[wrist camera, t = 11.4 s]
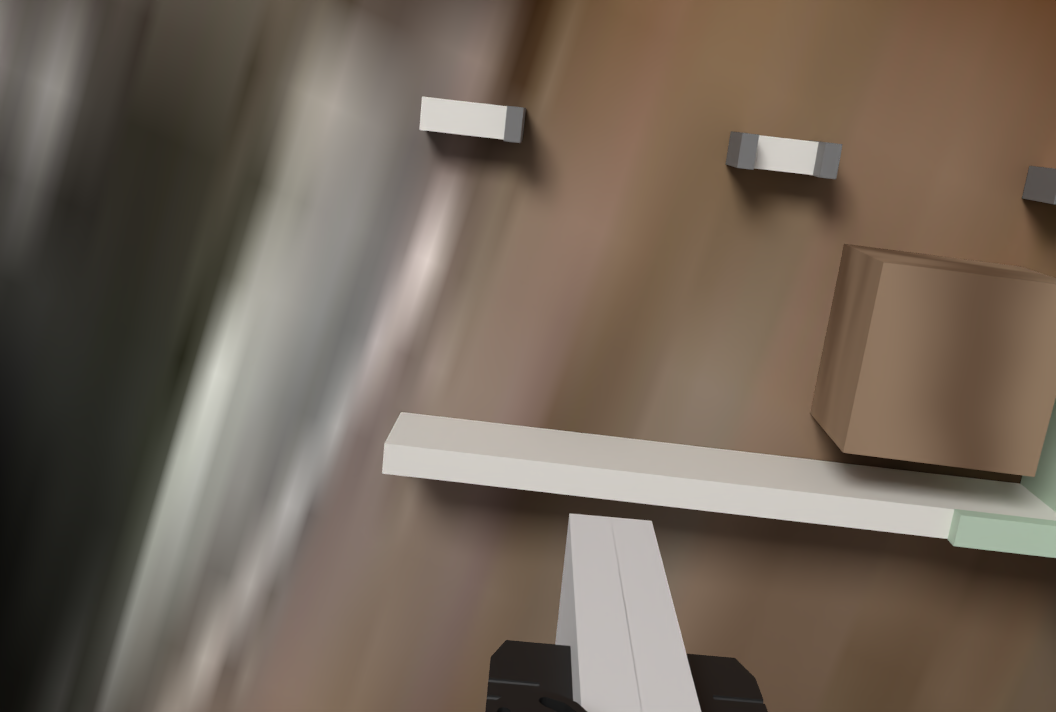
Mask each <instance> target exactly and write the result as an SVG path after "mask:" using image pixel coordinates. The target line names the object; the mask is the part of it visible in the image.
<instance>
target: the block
mask: <svg viewBox="0 0 1056 712" xmlns="http://www.w3.org/2000/svg"><path fill="white" fill-rule="evenodd" d="M1055 398H1056V278H1054V277H1051V276H1048V275H1045V274H1042V273H1039V272H1036V271H1033V270H1030V269H1027V268H1024V267H1021V266H1014V265H1006V264H998V263H990V262H982V261H974V260H967V259H959V258H951V257H943V256H935V255H927V254H919V253H911V252H903V251H896V250H888V249H880V248H872V247H864V246H856V245H848V244H844V248H843V253H842V257H841V262H840V267H839V272H838V277H837V282H836V287H835V292H834V297H833V302H832V307H831V312H830V317H829V322H828V327H827V332H826V337H825V342H824V347H823V352H822V357H821V362H820V367H819V371H818V376H817V381H816V386H815V391H814V396H813V401H812V406H811V411H810V414H811V415H812V416H813V417H814V418H815V420H816V421H817V422H818V423H819V424H820V426H821V427H822V428H823V429H824V430H825V432H826V433H827V434H828V435H829V436H830V438H831V439H832V440H833V441H834V442H835V444H836V445H837V446H838V447H839V448H840V450H841V451H842V452H843V453H849V454H857V455H865V456H873V457H881V458H889V459H897V460H905V461H912V462H920V463H928V464H936V465H944V466H952V467H960V468H968V469H976V470H984V471H991V472H999V473H1007V474H1015V475H1023V476H1031V477H1035V474H1036V470H1037V466H1038V462H1039V459H1040V455H1041V451H1042V447H1043V443H1044V440H1045V436H1046V432H1047V428H1048V425H1049V421H1050V417H1051V413H1052V409H1053V406H1054V402H1055Z"/></svg>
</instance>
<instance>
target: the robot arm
mask: <svg viewBox="0 0 1056 712" xmlns="http://www.w3.org/2000/svg"><path fill="white" fill-rule="evenodd" d="M486 712H768V711H767V708H766V706H765V704H763V698H762V695H761V692H760V690H759V687H758V684H757V681H756V679H755V677H754V676H753V675H752V674H751V673H750V672H749V671H747V670H746V669H745V668H744V667H743V666H742V665H741V664H740V663H739V662H738V661H737V660H736V659H735V658H728V657H717V656H706V655H695V654H686V651H685V647H684V643H683V639H682V636H681V632H680V628H679V624H678V620H677V616H676V613H675V609H674V605H673V601H672V597H671V593H670V589H669V586H668V582H667V578H666V574H665V570H664V566H663V563H662V559H661V555H660V551H659V547H658V543H657V539H656V536H655V532H654V528H653V524H652V521H648V520H637V519H626V518H615V517H604V516H593V515H582V514H570V513H569V522H568V531H567V541H566V550H565V560H564V569H563V578H562V588H561V597H560V606H559V616H558V625H557V634H556V644H543V643H532V642H521V641H510V640H506V641H505V642H504V643H503V644H502V645H501V646H500V648H499V649H498V650H497V651H496V652H495V653H494V654H493V655H492V656H491V661H490V671H489V681H488V691H487V701H486Z"/></svg>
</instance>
